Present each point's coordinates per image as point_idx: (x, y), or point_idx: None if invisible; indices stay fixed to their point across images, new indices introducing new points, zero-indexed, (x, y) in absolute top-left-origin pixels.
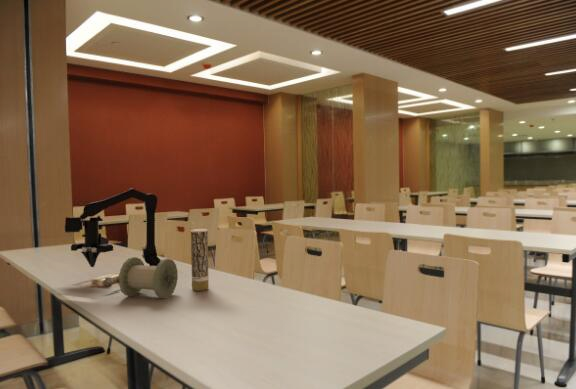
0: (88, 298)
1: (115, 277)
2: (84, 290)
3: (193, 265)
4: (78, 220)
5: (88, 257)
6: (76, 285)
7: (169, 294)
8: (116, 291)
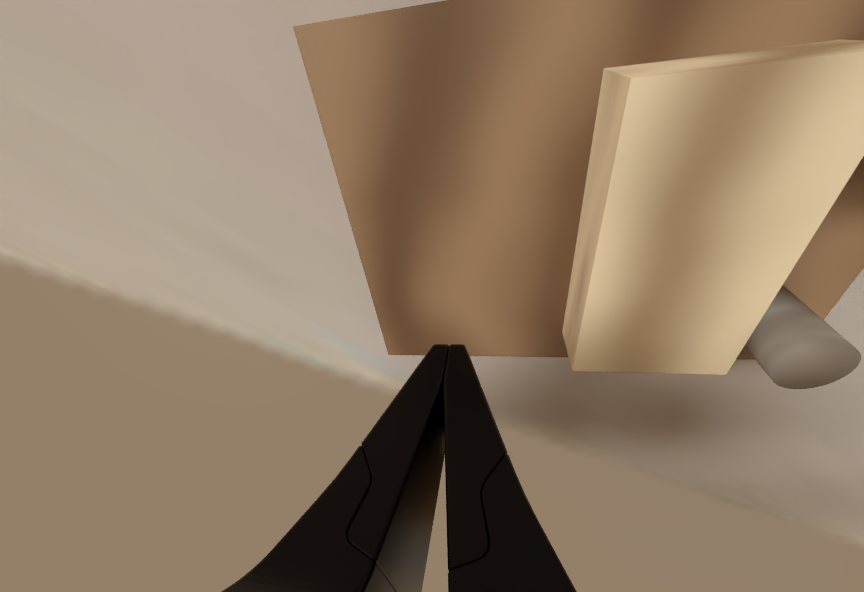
0: (692, 439)
1: (827, 189)
2: None
3: None
4: None
5: (419, 575)
6: None
7: None
8: (853, 308)
